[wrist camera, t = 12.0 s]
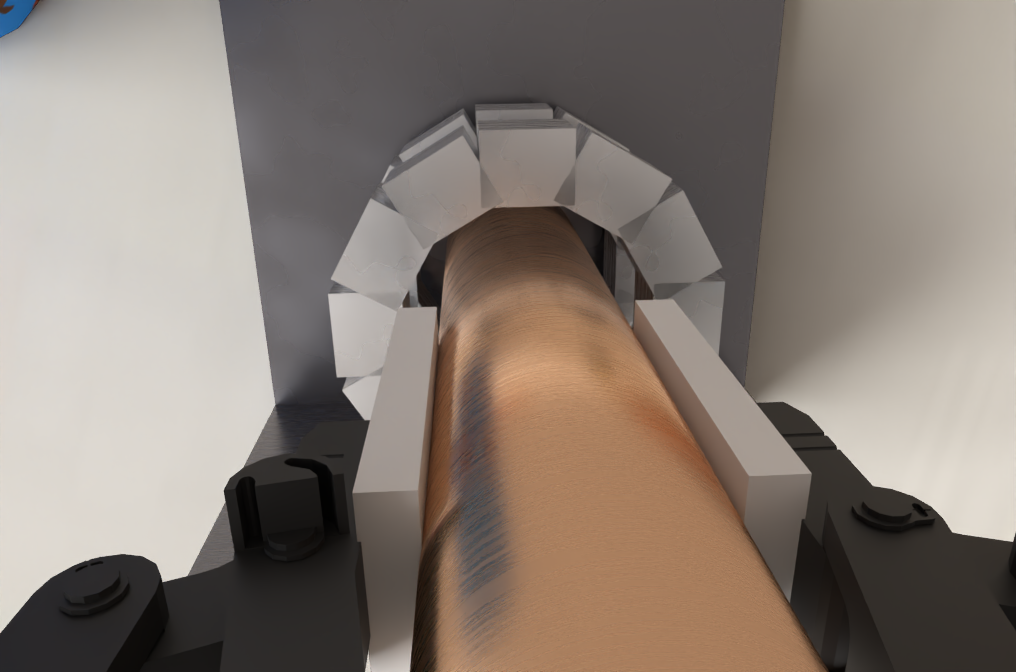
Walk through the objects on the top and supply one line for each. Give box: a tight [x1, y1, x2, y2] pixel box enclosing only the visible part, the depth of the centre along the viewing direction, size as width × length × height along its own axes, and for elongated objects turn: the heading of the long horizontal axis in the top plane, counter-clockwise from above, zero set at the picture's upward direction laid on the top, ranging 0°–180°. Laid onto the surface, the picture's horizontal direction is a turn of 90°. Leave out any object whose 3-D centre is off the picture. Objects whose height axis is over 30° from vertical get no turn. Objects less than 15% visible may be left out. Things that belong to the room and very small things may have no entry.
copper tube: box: [410, 206, 829, 672], centre depth 15 cm, size 4×4×20 cm
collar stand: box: [188, 0, 785, 576], centre depth 20 cm, size 18×16×10 cm
